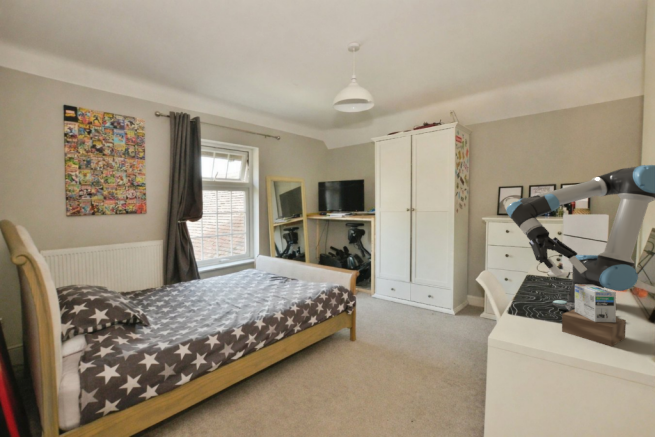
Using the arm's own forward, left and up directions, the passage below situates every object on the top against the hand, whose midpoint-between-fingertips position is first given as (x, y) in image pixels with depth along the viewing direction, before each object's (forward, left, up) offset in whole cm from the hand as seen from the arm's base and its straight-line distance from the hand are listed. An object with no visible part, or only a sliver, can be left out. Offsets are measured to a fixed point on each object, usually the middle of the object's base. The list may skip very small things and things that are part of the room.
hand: (571, 273), depth 115 cm
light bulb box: (0, +8, -15) cm, 17 cm away
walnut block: (0, +8, -21) cm, 23 cm away
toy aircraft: (-18, -8, -21) cm, 29 cm away
